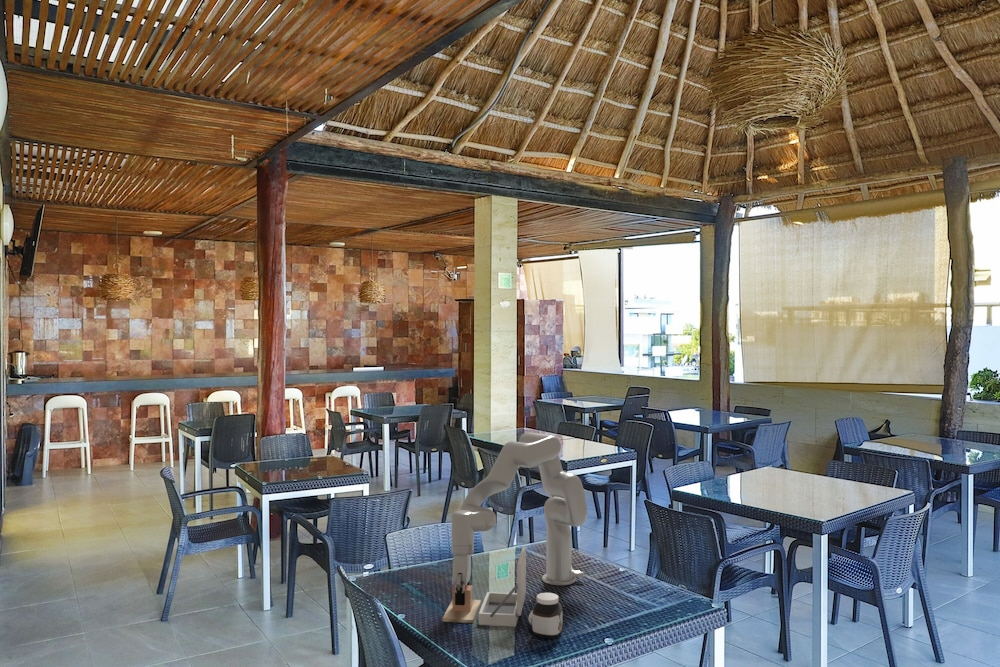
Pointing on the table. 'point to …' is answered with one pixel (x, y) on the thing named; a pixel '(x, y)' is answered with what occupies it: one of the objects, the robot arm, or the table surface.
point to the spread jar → (546, 616)
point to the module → (468, 599)
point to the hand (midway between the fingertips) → (462, 599)
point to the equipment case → (506, 600)
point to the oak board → (461, 614)
